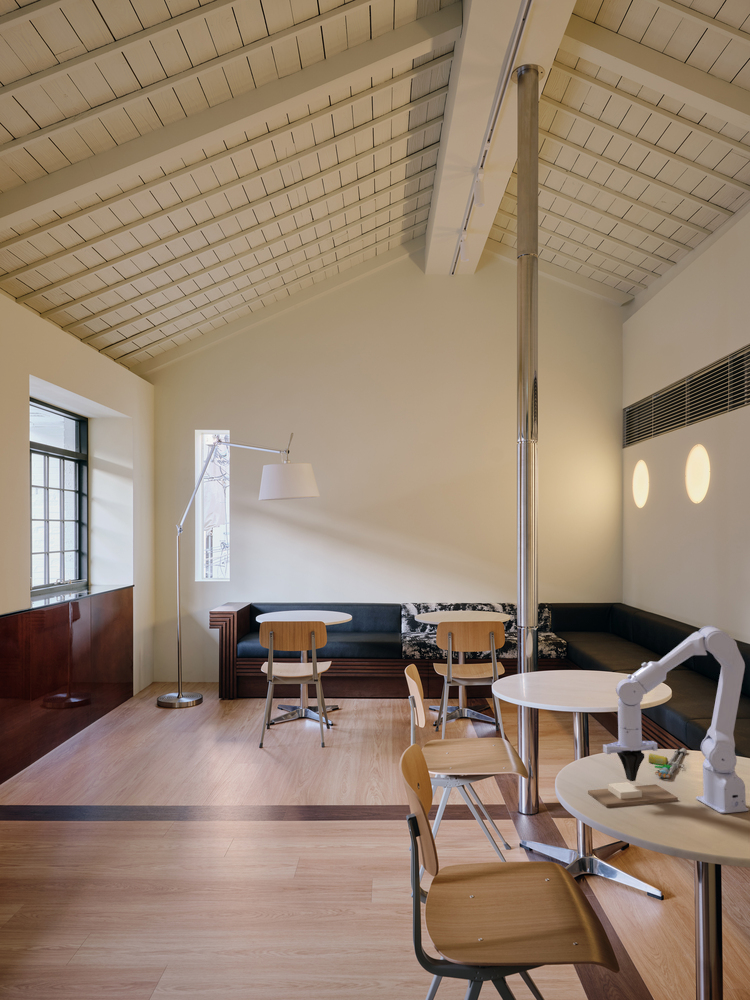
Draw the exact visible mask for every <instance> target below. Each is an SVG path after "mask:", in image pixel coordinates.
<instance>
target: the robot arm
mask: <svg viewBox="0 0 750 1000" xmlns="http://www.w3.org/2000/svg"><path fill="white" fill-rule="evenodd" d="M707 652H709V653H710V654H712V655H713V657H714V659H715V660H716V661H717V662H718V664H720V666H721V667H720V674H719V677H718V678H719V679H718V685H717V690H716V696H715V703H714V708H713V713H712V718H711V725H710V726H709V728H708V729H707V731H706V735H705V737H704V739H702V741H701V743H700V751H701V753H702V755H703V756H704V757H705V759H704V760H703V762H702V786H703V795H700V796H696V797H695V799H696V800H697V801H700V802H701V803H703V804H704V805H706V806H708V807H709V808H711V809H712V810H715V811H716V812H718V813H720V814H729V813H731V814H732V813H741V812H747V811H749V810H750V808H749V807H746V806H747V805H746V804H747V803H746V801H747V800H746V784H745V782H744V780H743V779H742V778H741V777H740V776H738V774H737V773H736V765H737V762H738V761H737V756H736V755H737V754H736V753H735V747H736V743H735V736H734V732H735V731H734V730H735V726H736V725H735V724H736V719H737V713H738V708H739V701H740V696H741V691H742V684H743V680H744V674H745V668H746V664H745V661H744V659H743V656H742V654H741V651H740V650H739V648H738V644H737V641H736V640H735V639H734V638H733V637H732V636H730V635H729V633H727V632H726V631H724V630H721V629H720V628H718V627H717V626H714V625H705V626H702V627H701V628H700V629H699V630H698V631H694V632H693V633H691V634H690V635H689V636H688V637H686V638H685V639H684V640H683V641H681V642H680V643H679V644H678V645H677V646H676V647H674V648H673V649H672V650H670V652H668V653H667V654H666V655H664V656H663V657H662V658H660V660H658V661H652V660H651V661H649V662H645V661H644V662H642V663H641V667H640V668H639V669H638V670H636V671H635V672H633V673H632V674H630V673H629V674H627V676H626V677H627V678H623V679H621V680H620V681H618V683H617V685H616V688H615V691H616V694H617V696H618V700H617V704H618V706H617V725H618V726H617V728H618V729H617V730H618V731H617V732H618V733H617V735H618V737H617V738H618V740H617V741H614V742H611V743H607V744H606V743H605V744H602V752H603V753H604V754H606V755H611V754H616V753H617V756H618V757H619V760H620V762H621V764H622V767H623V769H624V773H625V777H626V779H627V780H628V781H630V782H636V780H637V775H638V772H639V769H640V766H641V763H642V762H643V760H644V759H645V753H644V752H643V751H653V752H654V751H656V752H657V751H658V743H657V742H656V741H654V740H643V736H642V735H643V733H642V732H643V731H642V709H641V702H642V701H643V699H644V695H646V694H648V693H650V692H651V691H652V690H653V689H655V688H657V687H658V686H659V685H661V684H662V683H663V682H665V681H666V680H667V673H668V672H670V671H671V670H673V669H674V668H675V667H677V666H678V665H680V664H682V663H683V662H685V661H687V660H688V659H689V658H691V657H693V656H708V653H707Z"/></svg>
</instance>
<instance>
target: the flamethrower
mask: <svg viewBox="0 0 750 1000" xmlns="http://www.w3.org/2000/svg"><path fill="white" fill-rule="evenodd" d="M687 752H688V751H687V749H686V748H684V747H682V748H680V747H678V748H677V749H676V750H674V754H673V755H672V757H671V759H670V760H668V757H667V756H664V755H663V756H662V755H659V754H654V753H649V754H648V763H650V764H653V765H654V768H655V769H659V770H656V771H655V773H654V774H655V775H656V776H658V777H659V778H664V779H665V778H671V775H674V773H673V772H674V771H675V770H677V769H678V768H679V766H680V767H681V768H683V769H682V770H681V772H684V770H685V764H684V763H682V764H681V763H679V762H680V760H681V759H682V757H683V756H685V755H686V754H687ZM677 756H678V758H677ZM676 758H677V759H676ZM675 760H676V761H675Z"/></svg>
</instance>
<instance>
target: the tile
mask: <svg viewBox="0 0 750 1000" xmlns="http://www.w3.org/2000/svg"><path fill="white" fill-rule="evenodd" d="M635 786H636V785H633V784H632V783H630V782H628V781H625V782H614V783H607V789H608V791H610V792H611V793H613V794H614V795H616V796H617V797H618V798H620V799H627V798H638V797H642V791H641V790H640V789H638V788H637V787H635Z"/></svg>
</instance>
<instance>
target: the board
mask: <svg viewBox="0 0 750 1000" xmlns="http://www.w3.org/2000/svg"><path fill="white" fill-rule="evenodd" d="M634 786H635V787H637V788H638V789H640V790H641V791H642V797H638V798H627V799H620V798H618V797H617V796H616V795H614V794H613V793H611V792H610V791H608V788H602V789H601V788H600V789H588V790H587V794H588V795H590V796H591V797H592V798H593V799H595V800H596V801H598V803H600V804H601V805H602V806H604V807H606V808H615V807H626V806H635V805H636V806H637V805H647V804H657V803H658V804H659V803H665V802H666V803H669V802H677V801H679V799H678V797H677V796H676V795H674V794H673V793H671V792H669V791H667V790H666V789H664V788H662V787H661V786H660V785H658V784H646V785H634Z"/></svg>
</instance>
